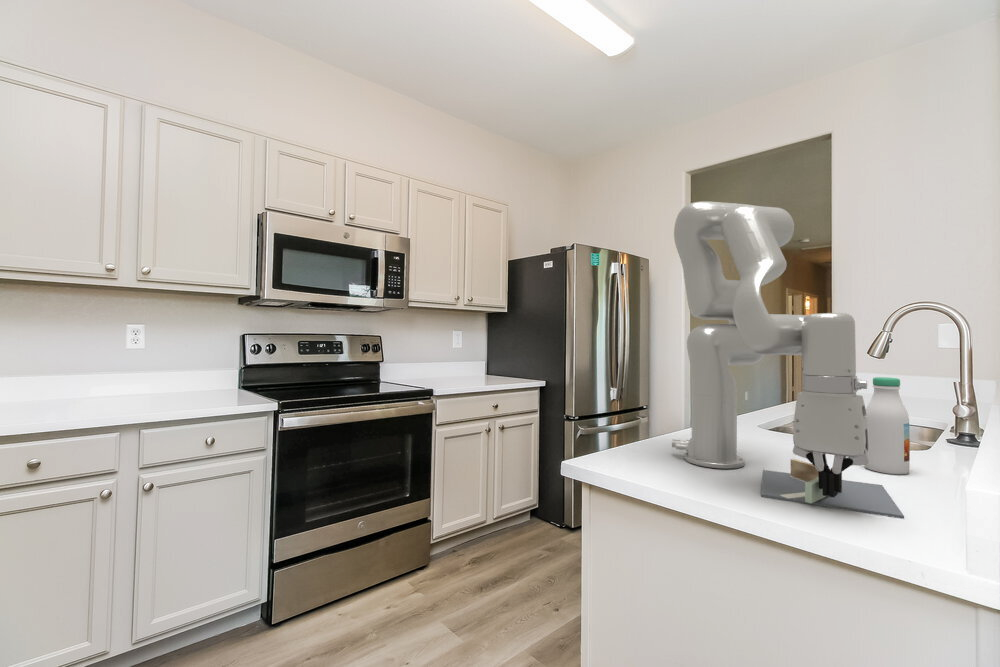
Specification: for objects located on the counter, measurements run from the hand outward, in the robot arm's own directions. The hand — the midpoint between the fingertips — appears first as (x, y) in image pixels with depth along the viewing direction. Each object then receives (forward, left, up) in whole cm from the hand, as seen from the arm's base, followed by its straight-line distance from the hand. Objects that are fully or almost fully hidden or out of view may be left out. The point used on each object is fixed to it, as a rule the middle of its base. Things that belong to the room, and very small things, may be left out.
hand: (830, 494), depth 80 cm
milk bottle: (+13, +34, -3) cm, 36 cm away
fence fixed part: (-1, +13, -2) cm, 13 cm away
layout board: (0, +10, -2) cm, 10 cm away
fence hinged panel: (-1, +4, -1) cm, 4 cm away
